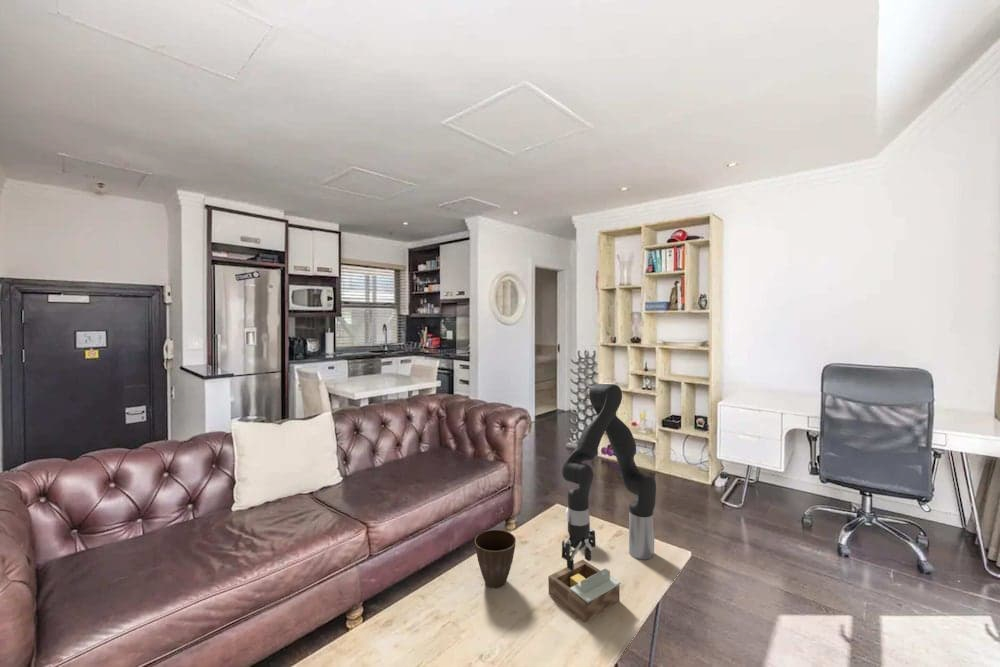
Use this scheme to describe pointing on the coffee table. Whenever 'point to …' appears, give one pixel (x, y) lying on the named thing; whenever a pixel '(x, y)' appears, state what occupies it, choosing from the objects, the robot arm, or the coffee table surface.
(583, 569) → the brown square open box
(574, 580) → the block
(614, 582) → the slide cover
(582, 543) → the robot arm
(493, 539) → the plant pot
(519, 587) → the coffee table surface
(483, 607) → the coffee table surface
